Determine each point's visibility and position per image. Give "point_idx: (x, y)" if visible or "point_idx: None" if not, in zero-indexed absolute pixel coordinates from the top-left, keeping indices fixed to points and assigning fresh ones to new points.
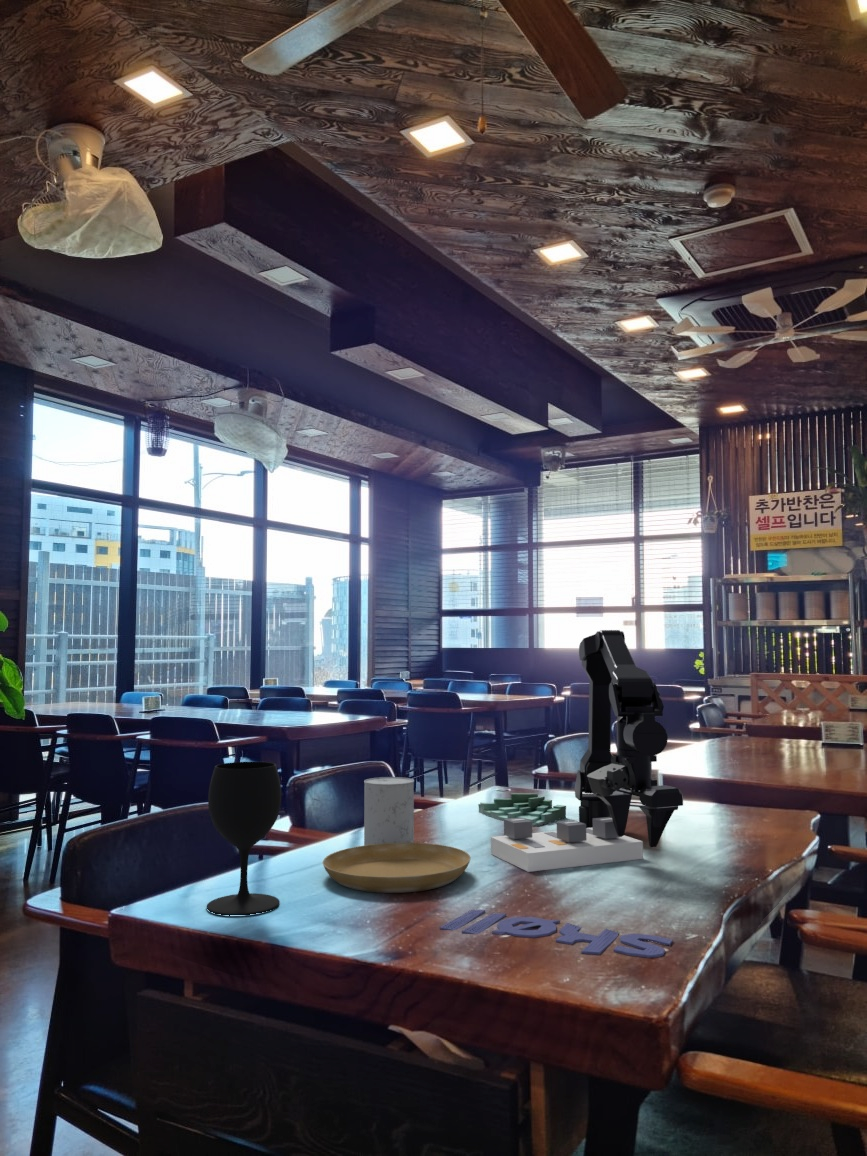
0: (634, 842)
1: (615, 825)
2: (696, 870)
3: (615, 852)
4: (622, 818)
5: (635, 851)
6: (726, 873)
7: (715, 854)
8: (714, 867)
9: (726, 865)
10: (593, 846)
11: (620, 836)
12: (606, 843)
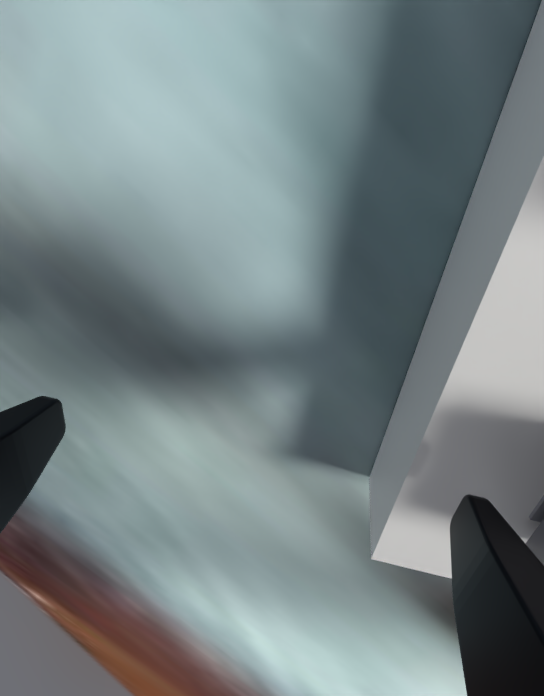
0: (388, 518)
1: (524, 569)
2: (99, 475)
3: (431, 364)
4: (494, 686)
5: (383, 476)
6: (32, 506)
7: (259, 651)
8: (116, 539)
9: (125, 576)
10: (536, 172)
11: (528, 545)
12: (515, 367)
